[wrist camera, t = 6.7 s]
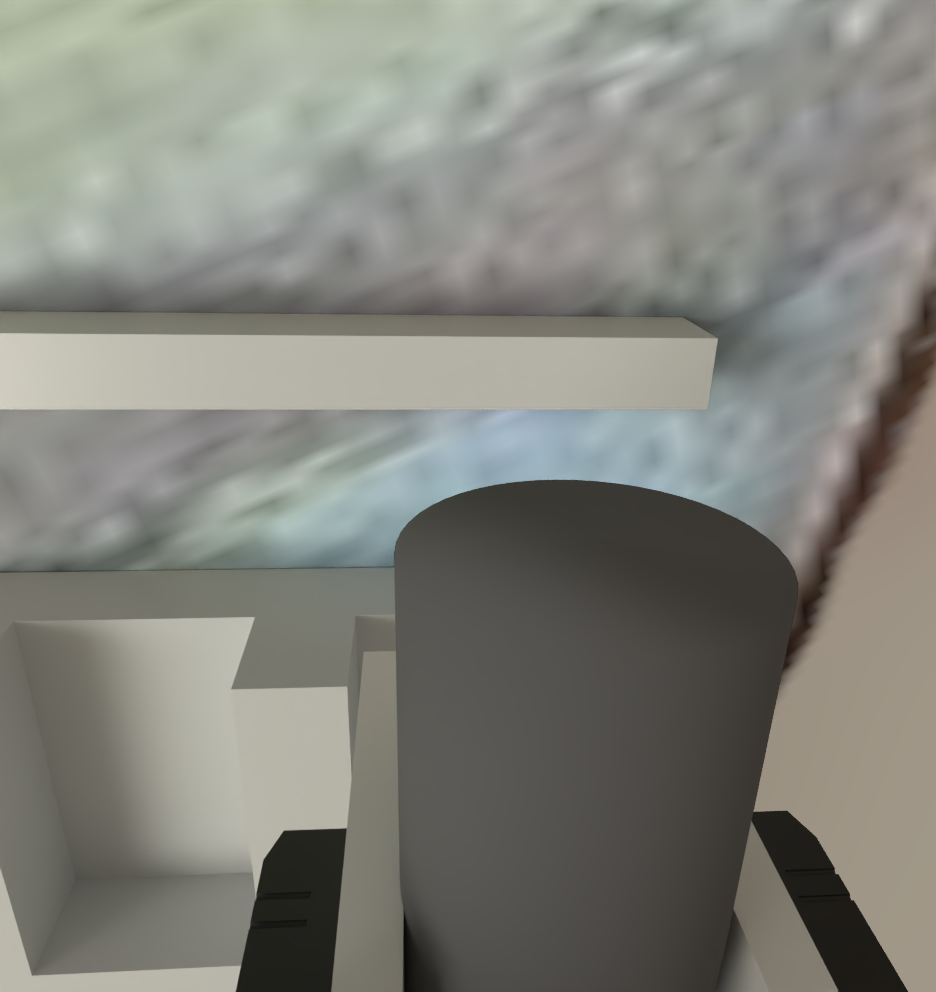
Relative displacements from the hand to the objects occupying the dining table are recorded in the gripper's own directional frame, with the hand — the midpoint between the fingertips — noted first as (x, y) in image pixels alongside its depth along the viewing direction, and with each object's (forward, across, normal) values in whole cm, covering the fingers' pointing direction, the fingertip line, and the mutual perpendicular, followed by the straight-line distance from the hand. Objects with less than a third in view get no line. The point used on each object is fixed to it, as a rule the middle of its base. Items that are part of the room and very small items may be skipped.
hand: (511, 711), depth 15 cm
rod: (-3, 0, -3) cm, 4 cm away
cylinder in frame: (+12, -5, -5) cm, 14 cm away
